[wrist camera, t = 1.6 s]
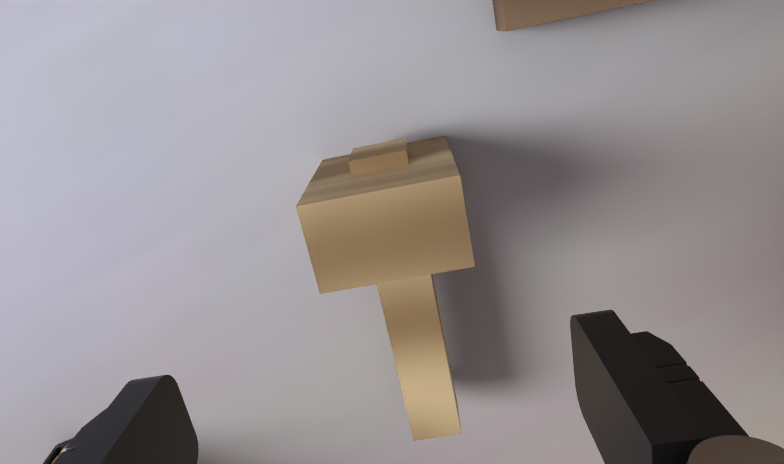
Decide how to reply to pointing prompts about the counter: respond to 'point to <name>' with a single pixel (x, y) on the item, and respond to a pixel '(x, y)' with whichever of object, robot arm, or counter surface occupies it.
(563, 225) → the counter surface
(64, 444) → the ammunition clip
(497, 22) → the walnut board
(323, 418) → the counter surface
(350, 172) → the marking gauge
